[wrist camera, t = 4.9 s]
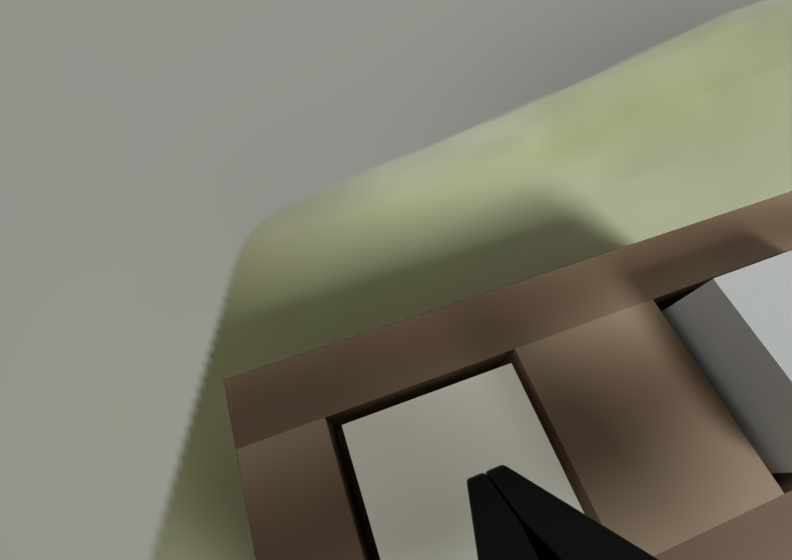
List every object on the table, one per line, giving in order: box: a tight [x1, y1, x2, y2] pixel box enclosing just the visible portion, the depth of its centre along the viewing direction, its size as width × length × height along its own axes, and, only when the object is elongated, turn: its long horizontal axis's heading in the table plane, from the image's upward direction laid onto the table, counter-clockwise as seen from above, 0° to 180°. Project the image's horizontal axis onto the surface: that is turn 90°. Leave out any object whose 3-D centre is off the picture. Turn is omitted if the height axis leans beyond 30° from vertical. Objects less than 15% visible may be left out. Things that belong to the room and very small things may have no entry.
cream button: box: [342, 363, 584, 560], centre depth 12 cm, size 5×5×3 cm
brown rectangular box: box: [224, 191, 792, 560], centre depth 16 cm, size 10×22×8 cm, turn 110°
